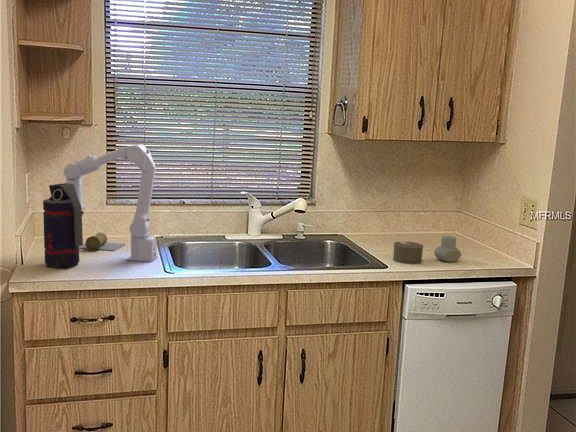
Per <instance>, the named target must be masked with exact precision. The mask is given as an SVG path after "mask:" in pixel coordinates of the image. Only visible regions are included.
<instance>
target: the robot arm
mask: <svg viewBox="0 0 576 432" xmlns="http://www.w3.org/2000/svg"><path fill="white" fill-rule="evenodd" d="M118 159H121V160H128V161H129V162H131V163H133V164H135V165H136V166H137V167H138V169H139V170H140V171H141V176H140V182H139V188H138V196H137V202H136V203H137V204H136V210H135V213H134V216H133V221H132V222H131V224H130V225H129V232H130V256H129V257H128V258H127V261H138V262H139V261H140V262H152V261H154V260H155V259H156V258H158V256H157V252H158V251H157V249H158V248H157V243H158V242H157V241H158V240H157V237H154V236H151V234H150V232H149V231H150V229H151V227H152V224H151V221H150V220H151V219H150V218H151V214H150V208H151V202H152V195H153V189H154V184H155V183H154V182H155V175H156V169H157V168H156V164H155V162H154V159H153V157H152V154H151V151H150V150H149V149H148V148H147V146H145V145H144V144H142V143H138V144H135V145H134V144H133V145H128V146H124V147H120V148H118V149H114V150H113V151H110V152H108V153H106V154H102V155H101V156H96V155H90V154H88V155H87V156H86V158H83V159H80V160H78V159H77V160H75V161H74V163H68V164H67V165H66V166H64V169H63V175H64V176H65V183H68V184H74V187H75V190H76V194H77V197H78V199H79V202H80V204H81V208H82V216H84V213H85V212H84V211H83V210H84V209H86V203H83V184H82V183H83V181H82V179H83V178H82V177H83V176H86V175H90V174H92V173H94V172H96V171H100V170H101V167H102V166H103V165H105V164H108V163H110V162H113V161H116V160H118Z"/></svg>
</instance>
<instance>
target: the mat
mask: <svg viewBox="0 0 576 432" xmlns="http://www.w3.org/2000/svg"><path fill="white" fill-rule="evenodd" d="M125 245H126V243H122V242H121V243H119V242H106V243H105V244H104V245H101V246H100V248H99V249H98V250H97V251H107V252H115V251H117V250H119V249H121V248H122V247H124V246H125ZM79 250H89V249H88V248H87V247H86V242H85V243H83V245H81V246H79Z"/></svg>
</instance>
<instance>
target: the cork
mask: <svg viewBox="0 0 576 432" xmlns="http://www.w3.org/2000/svg"><path fill="white" fill-rule="evenodd" d="M107 241H108V236H107V234H106V233H104V232H98V233H97V234H95V235H93V236H92V235H91V236H88V238H87V239H86V240H85V243H86V247H87V248H88V249H87V250H89V251H92V252H95V251H99V250H98V249H99V248H100V246H101V245H104V244H105V243H108V242H107Z"/></svg>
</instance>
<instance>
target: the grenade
mask: <svg viewBox="0 0 576 432" xmlns="http://www.w3.org/2000/svg"><path fill="white" fill-rule="evenodd" d="M48 187H49V192H50V197H49V198H47V199H44V200H42V208H43V211H42V212H43V244H44V246H43V247H44V249H45V250H44V264H45V266H46V268H49V267H58V268H59V269H60V270H67V269H68V267H70V266H74V265H76V266H77V265H78V264H79V263H80V249H79V246H81V245H83V244H84V240H83V238H84V237H83V215H82V211H83V209H82V208H81V204H80V202H79V199H78V197H77V194H76V190H75V187H74V184H68V183H66V182H64V183H57V184H49V185H48Z"/></svg>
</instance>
